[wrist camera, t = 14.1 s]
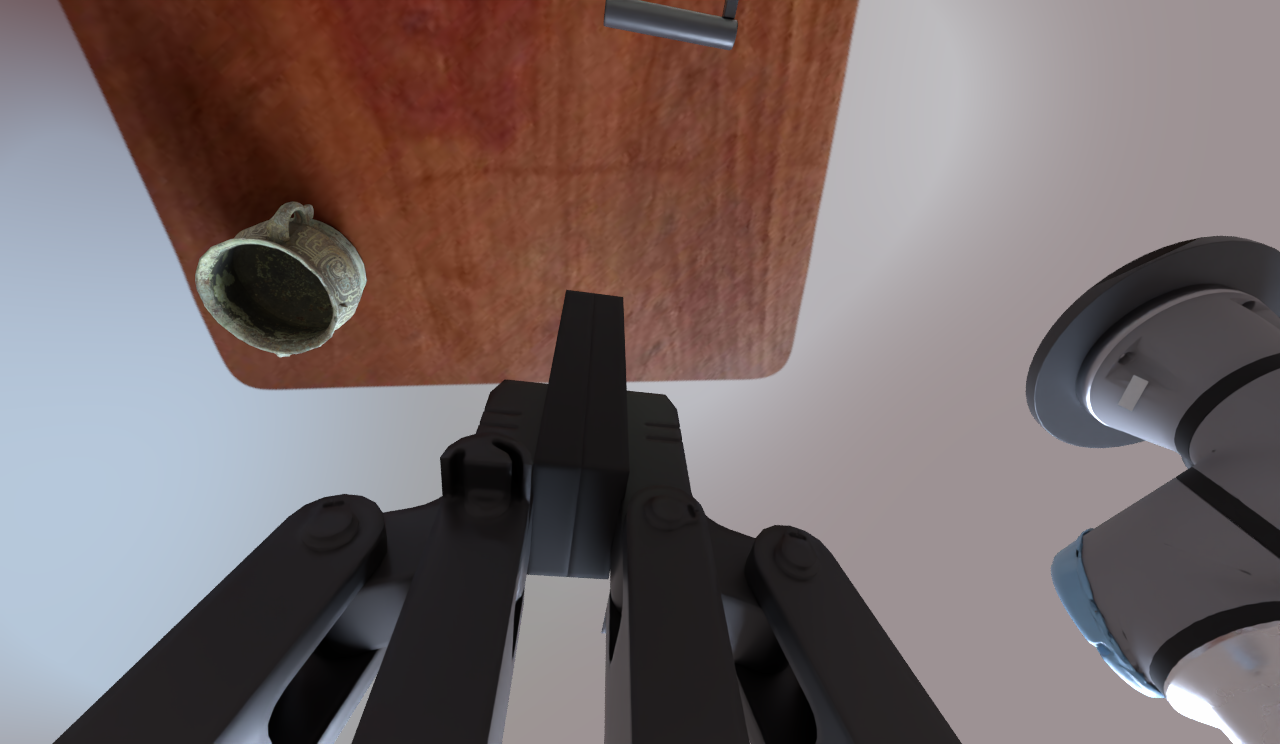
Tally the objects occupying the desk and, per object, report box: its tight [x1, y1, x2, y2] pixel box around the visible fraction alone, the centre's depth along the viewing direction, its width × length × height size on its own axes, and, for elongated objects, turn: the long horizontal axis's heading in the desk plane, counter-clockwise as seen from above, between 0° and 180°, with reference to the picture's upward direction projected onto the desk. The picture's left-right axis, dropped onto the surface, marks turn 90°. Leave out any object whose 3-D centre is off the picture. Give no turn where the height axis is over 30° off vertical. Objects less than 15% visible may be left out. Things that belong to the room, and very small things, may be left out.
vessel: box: [195, 201, 367, 357], centre depth 37 cm, size 12×9×6 cm
